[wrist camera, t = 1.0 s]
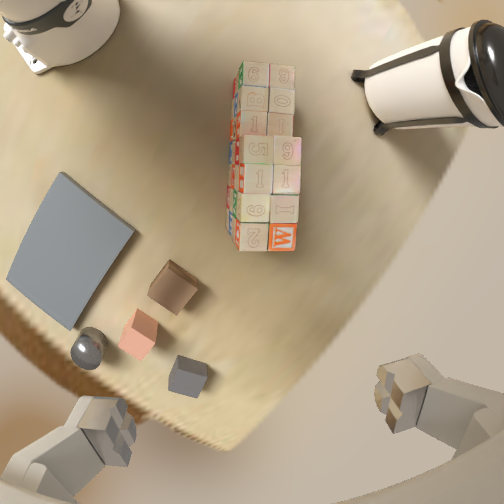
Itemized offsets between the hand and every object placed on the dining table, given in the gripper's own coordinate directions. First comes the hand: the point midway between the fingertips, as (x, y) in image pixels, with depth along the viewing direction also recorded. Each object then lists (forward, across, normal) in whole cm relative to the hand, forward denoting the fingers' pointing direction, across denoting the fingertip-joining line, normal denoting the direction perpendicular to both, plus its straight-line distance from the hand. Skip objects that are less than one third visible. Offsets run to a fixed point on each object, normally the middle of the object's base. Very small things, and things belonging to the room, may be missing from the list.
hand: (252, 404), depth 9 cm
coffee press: (+39, -28, -18) cm, 52 cm away
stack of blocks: (+37, -3, -9) cm, 38 cm away
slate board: (+33, +26, +1) cm, 42 cm away
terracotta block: (+35, +17, +14) cm, 41 cm away
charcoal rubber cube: (+36, +11, +24) cm, 45 cm away
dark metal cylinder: (+34, +26, +16) cm, 45 cm away
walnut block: (+35, +10, +8) cm, 38 cm away
